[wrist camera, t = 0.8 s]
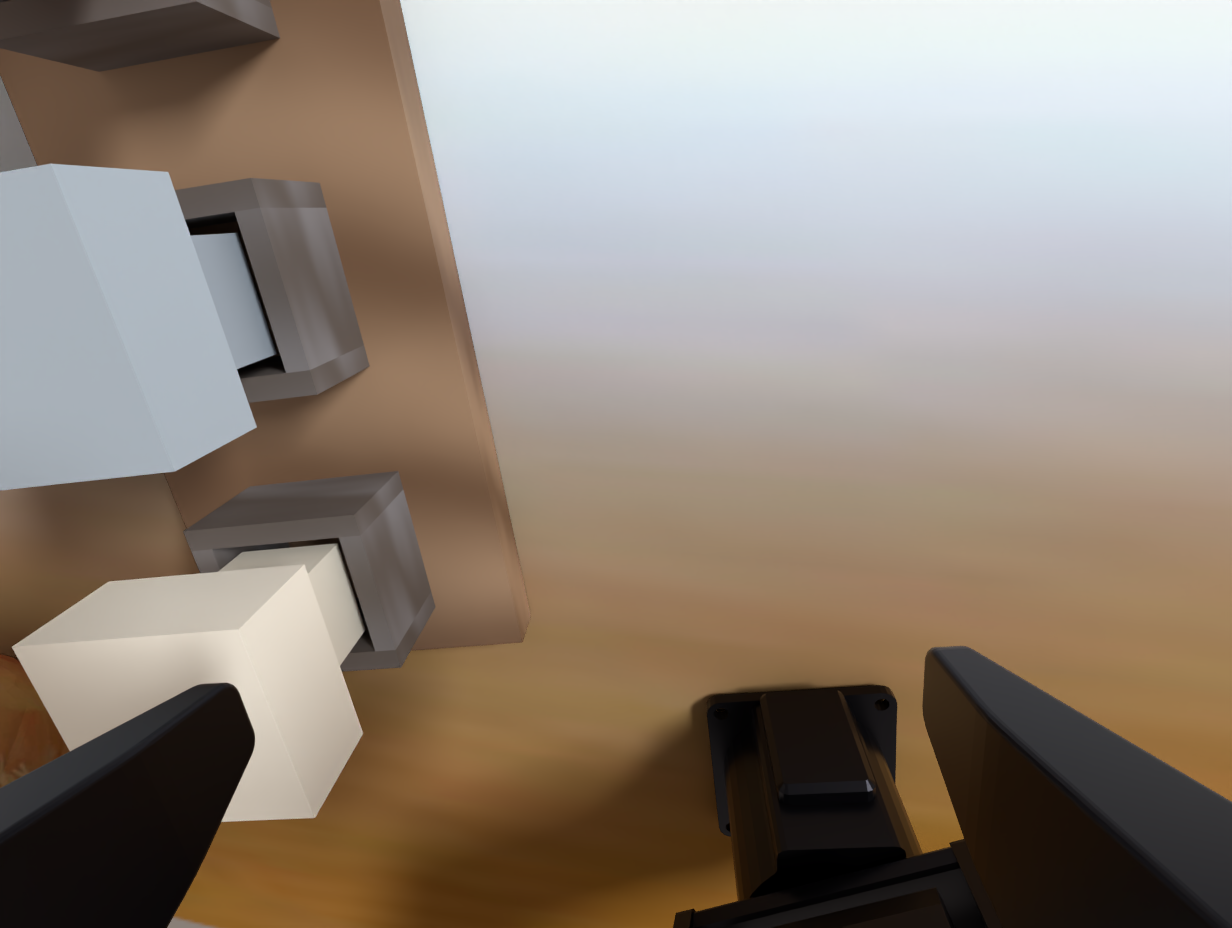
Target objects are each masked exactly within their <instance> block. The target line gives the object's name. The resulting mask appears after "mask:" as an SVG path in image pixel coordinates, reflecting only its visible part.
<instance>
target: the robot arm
mask: <svg viewBox="0 0 1232 928" xmlns="http://www.w3.org/2000/svg"><path fill="white" fill-rule="evenodd" d="M879 699H885V700H884V701H882V702H879V703H877V702H876V701H877V700H879ZM719 708H723V709H726V710H725V711H722V712H720V711H716V710H717V709H719ZM923 716H924V721H925V726H926V729H927V732H928V735H929V738H930V741H931V744H932V747H933V749H934V752H935V755H936V758H937V761H938V764H939V767H940V770H941V773H942V775H943V778H944V781H945V784H946V787H947V790H948V793H949V796H950V799H951V801H952V804H953V807H954V810H955V813H956V816H957V819H958V822H959V824H960V827H961V830H962V833H963V836H964V839H962V840H958V841H955V842H951V843H949V844H950V846H951V847H947V848H943V849H939V850H935V851H932V852H928V853H924V854H923V853H922V850H921V848H920V845H919V843H918V840H917V838H916V835H915V833H914V830H913V828H912V825H911V823H910V820H909V818H908V815H907V813H906V810H905V808H904V805H903V803H902V800H901V798H900V795H899V793H898V790H897V788H896V785H895V770H896V725H897V702H896V699H895V697H894V694H893V692H892V691H891V690H890V689H889V688H888V687H886V686H881V685H875V686H858V687H841V688H825V689H808V690H791V691H775V692H758V693H742V694H725V695H716V696H713V697H712V698H710V699H709V700H708V702H707V718H708V727H709V737H710V746H711V755H712V765H713V774H714V783H715V793H716V802H717V811H718V821H719V828H720V831H721V832H722V833H723V834H724V835H727V836H731V841H732V850H733V859H734V869H735V878H736V888H737V897H738V901H736V902H732V903H728V904H724V905H721V906H717V907H713V908H709V909H705V910H701V911H697V912H696V911H695V910H694V909H690V910H686V911H682V912H679V913H676V915H675V920H674V926H673V928H1232V802H1231V801H1229V800H1228V799H1226V798H1224V797H1223V796H1221V795H1219V794H1217V793H1216V792H1214V791H1212V790H1211V789H1209V788H1207V787H1206V786H1204V785H1202V784H1201V783H1199V782H1197V781H1195V780H1194V779H1192V778H1190V777H1189V776H1187V775H1185V774H1184V773H1182V772H1180V771H1178V770H1177V769H1175V768H1173V767H1172V766H1170V765H1168V764H1167V763H1165V762H1163V761H1161V760H1160V759H1158V758H1156V757H1155V756H1153V755H1151V754H1150V753H1148V752H1146V751H1144V750H1143V749H1141V748H1139V747H1138V746H1136V745H1134V744H1133V743H1131V742H1129V741H1127V740H1126V739H1124V738H1122V737H1121V736H1119V735H1117V734H1116V733H1114V732H1112V731H1111V730H1109V729H1107V728H1105V727H1104V726H1102V725H1100V724H1099V723H1097V722H1095V721H1094V720H1092V719H1090V718H1088V717H1087V716H1085V715H1083V714H1082V713H1080V712H1078V711H1077V710H1075V709H1073V708H1071V707H1070V706H1068V705H1066V704H1065V703H1063V702H1061V701H1060V700H1058V699H1056V698H1054V697H1053V696H1051V695H1049V694H1048V693H1046V692H1044V691H1043V690H1041V689H1039V688H1037V687H1036V686H1034V685H1032V684H1031V683H1029V682H1027V681H1026V680H1024V679H1022V678H1020V677H1019V676H1017V675H1015V674H1014V673H1012V672H1010V671H1009V670H1007V669H1005V668H1004V667H1002V666H1000V665H998V664H997V663H995V662H993V661H992V660H990V659H988V658H987V657H985V656H983V655H981V654H980V653H978V652H976V651H975V650H973V649H971V648H969V647H966V646H951V647H934V648H931V649H930V650H929V651H928V652H927V655H926V657H925V671H924V689H923ZM254 746H255V733H254V729H253V727H252V724H251V722H250V719H249V716H248V714H247V711H246V709H245V706H244V703H243V701H242V698H241V696H240V693H239V691H238V689H237V688H236V687H235V686H234V685H233V684H230V683H206V684H199V685H196V686H194V687H192V688H190V689H188V690H186V691H184V692H182V693H180V694H178V695H176V696H174V697H172V698H171V699H169V700H167V701H165V702H163V703H161V704H159V705H157V706H155V707H153V708H152V709H150V710H148V711H146V712H144V713H142V714H140V715H138V716H136V717H134V718H132V719H131V720H129V721H127V722H125V723H123V724H121V725H119V726H117V727H115V728H113V729H111V730H110V731H108V732H106V733H104V734H102V735H100V736H98V737H96V738H94V739H92V740H91V741H89V742H87V743H85V744H83V745H81V746H79V747H77V748H75V749H73V750H71V751H70V752H68V753H66V754H64V755H62V756H60V757H58V758H56V759H54V760H52V761H51V762H49V763H47V764H45V765H43V766H41V767H39V768H37V769H35V770H33V771H31V772H30V773H28V774H26V775H24V776H22V777H20V778H18V779H16V780H14V781H12V782H10V783H9V784H7V785H5V786H3V787H1V788H0V928H167V927H168V925H169V923H170V921H171V920H172V918H173V916H174V914H175V913H176V911H177V909H178V907H179V906H180V904H181V902H182V900H183V898H184V897H185V895H186V893H187V891H188V889H189V887H190V886H191V884H192V882H193V880H194V878H195V876H196V874H197V872H198V870H199V868H200V866H201V864H202V862H203V860H204V858H205V856H206V854H207V852H208V849H209V847H210V845H211V843H212V841H213V839H214V836H215V834H216V832H217V830H218V828H219V826H220V823H221V821H222V819H223V817H224V815H225V812H226V810H227V808H228V806H229V804H230V802H231V799H232V797H233V795H234V793H235V791H236V789H237V786H238V784H239V782H240V780H241V778H242V776H243V773H244V771H245V769H246V767H247V765H248V762H249V760H250V758H251V756H252V753H253V750H254Z"/></svg>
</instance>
